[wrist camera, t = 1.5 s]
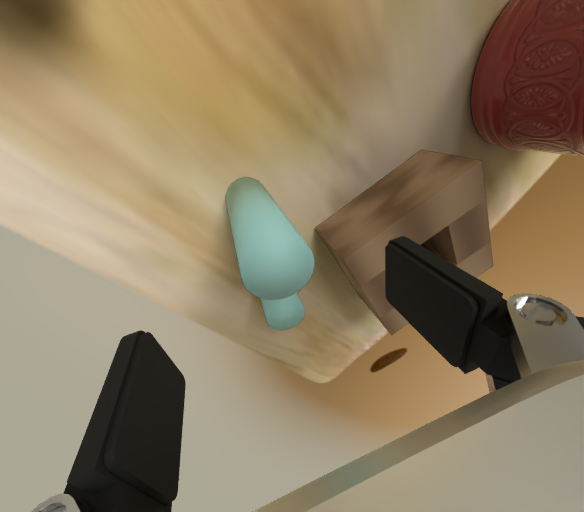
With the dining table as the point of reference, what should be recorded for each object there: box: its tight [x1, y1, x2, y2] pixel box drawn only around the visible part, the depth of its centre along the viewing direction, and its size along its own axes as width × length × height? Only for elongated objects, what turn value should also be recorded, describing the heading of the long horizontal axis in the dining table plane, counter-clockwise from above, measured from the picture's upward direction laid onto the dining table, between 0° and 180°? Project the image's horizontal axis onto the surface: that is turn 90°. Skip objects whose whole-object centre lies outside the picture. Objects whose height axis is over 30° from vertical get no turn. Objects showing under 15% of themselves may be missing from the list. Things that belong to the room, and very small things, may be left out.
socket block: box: [315, 150, 493, 335], centre depth 24 cm, size 12×12×6 cm
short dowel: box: [260, 293, 305, 330], centre depth 23 cm, size 3×3×5 cm
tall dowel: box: [226, 177, 315, 300], centre depth 16 cm, size 3×3×11 cm
